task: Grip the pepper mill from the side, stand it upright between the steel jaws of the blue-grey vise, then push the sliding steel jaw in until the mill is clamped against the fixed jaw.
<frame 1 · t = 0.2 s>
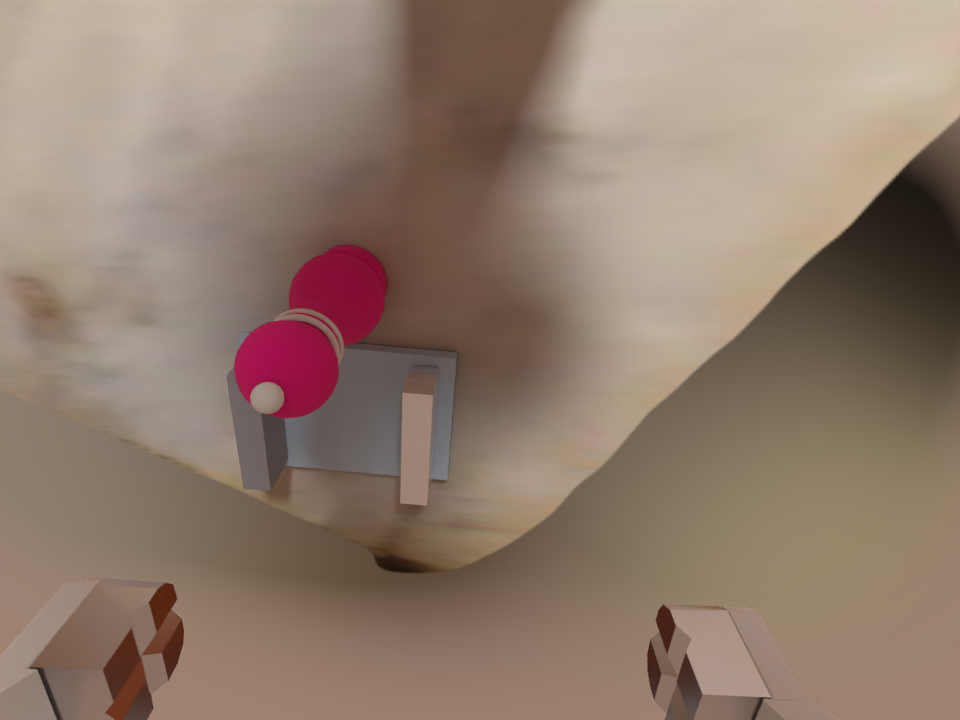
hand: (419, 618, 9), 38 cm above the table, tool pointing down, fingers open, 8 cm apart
pepper mill: (352, 279, 48), on the table
sliding jaw: (419, 436, 50), point 4 cm above the table, slide at 0.0 cm
vise: (334, 405, 53), on the table
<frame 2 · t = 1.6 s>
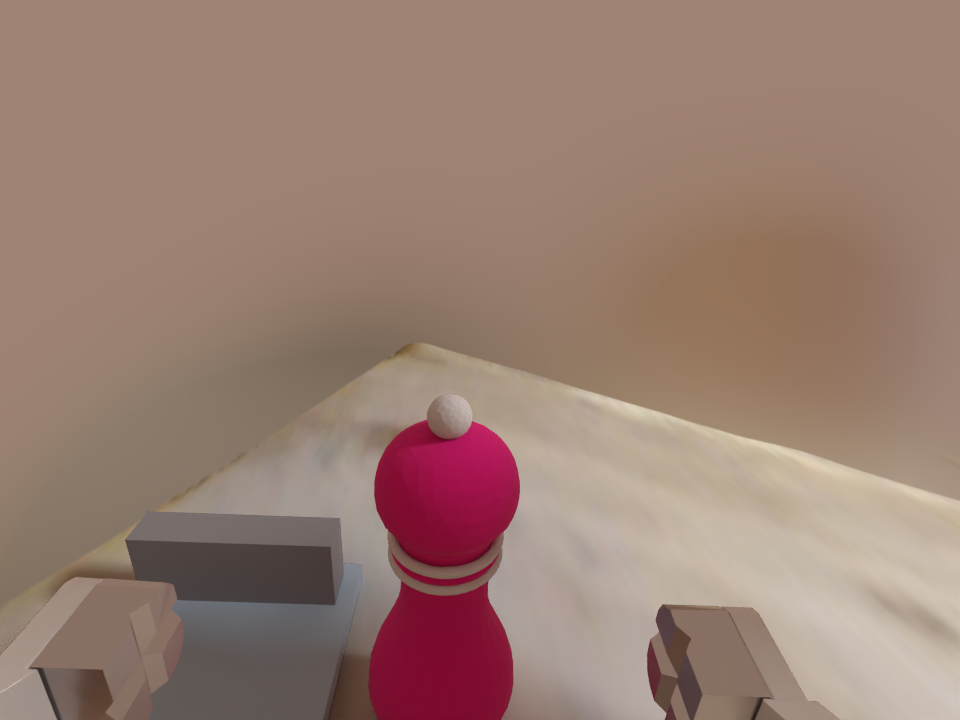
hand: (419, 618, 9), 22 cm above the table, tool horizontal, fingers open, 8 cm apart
vise: (210, 683, 31), on the table
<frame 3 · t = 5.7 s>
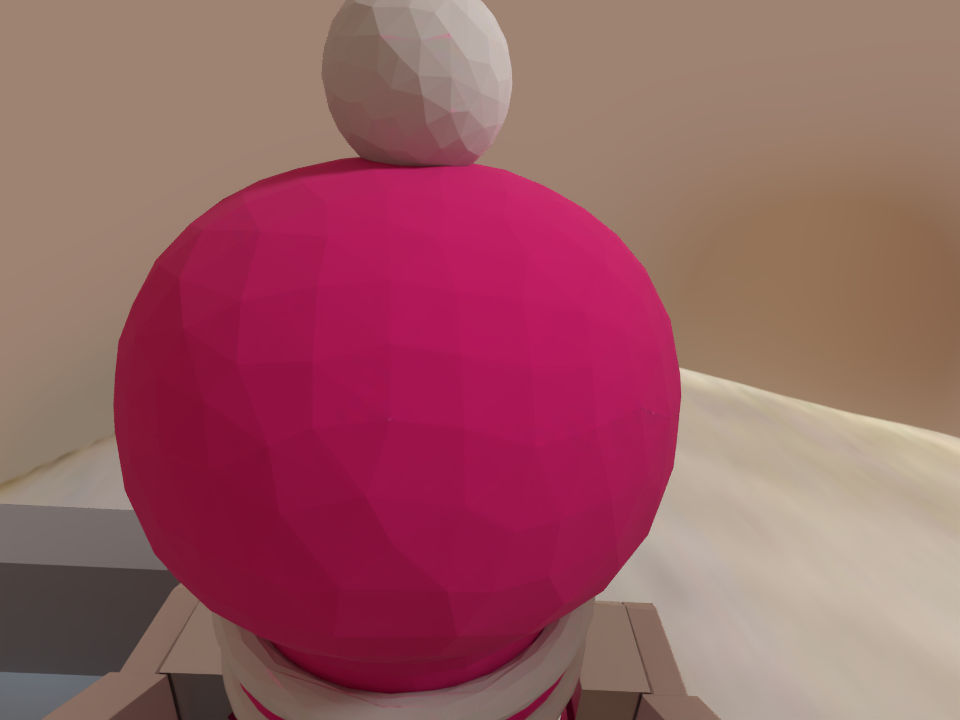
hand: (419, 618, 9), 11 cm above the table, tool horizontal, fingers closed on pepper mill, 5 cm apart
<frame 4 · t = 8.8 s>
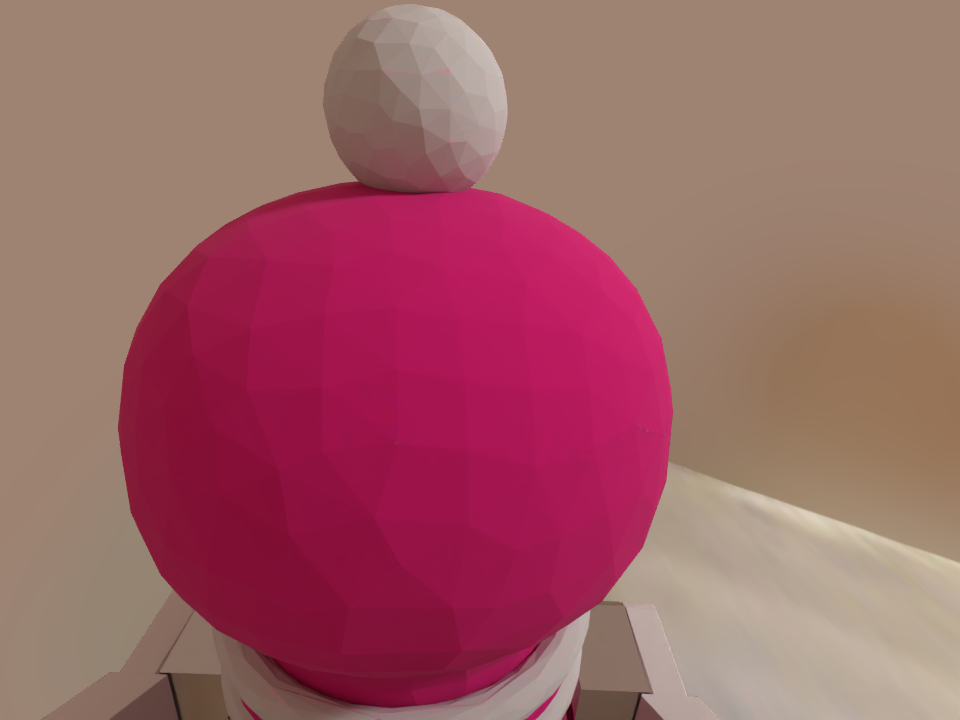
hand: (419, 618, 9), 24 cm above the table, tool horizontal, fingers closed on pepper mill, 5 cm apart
when the fingers open (13 cm above the table, at t = 11.7 s): pepper mill stays where it is, resting on vise.
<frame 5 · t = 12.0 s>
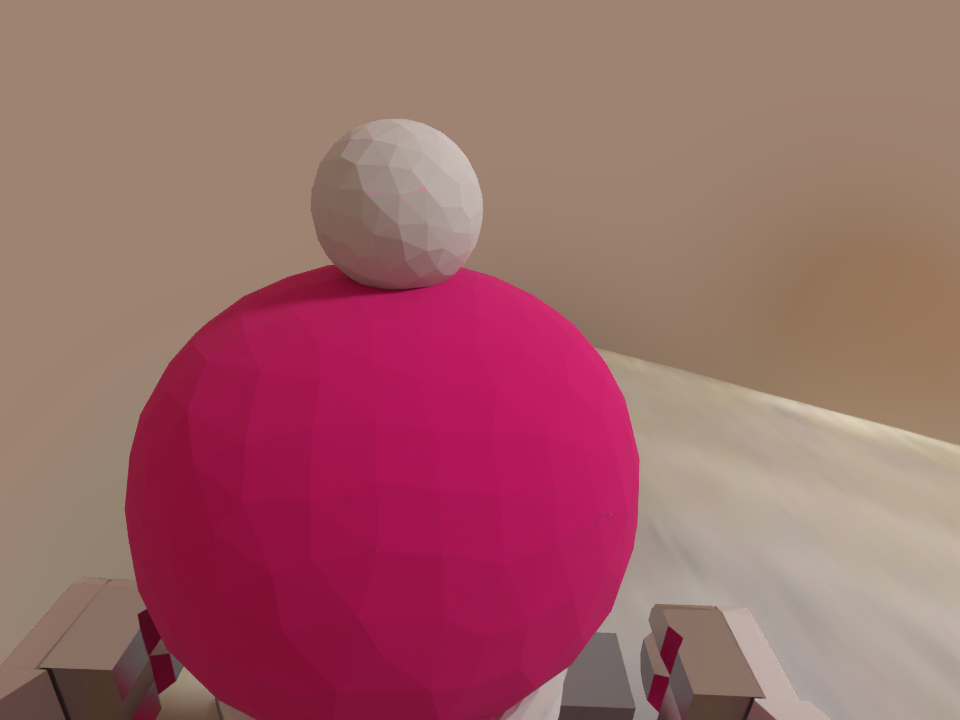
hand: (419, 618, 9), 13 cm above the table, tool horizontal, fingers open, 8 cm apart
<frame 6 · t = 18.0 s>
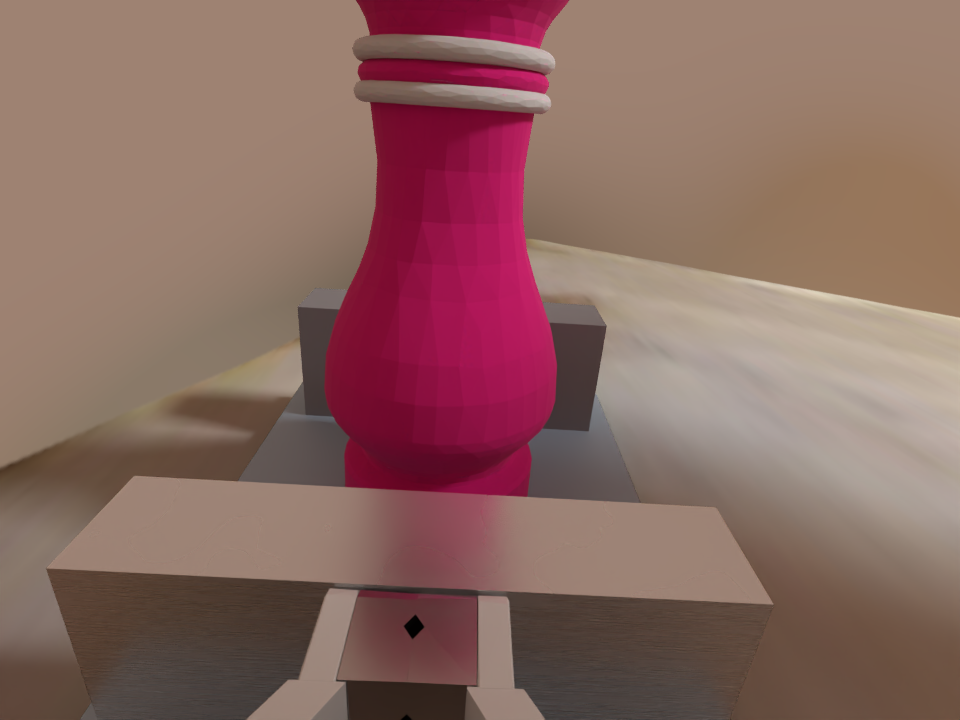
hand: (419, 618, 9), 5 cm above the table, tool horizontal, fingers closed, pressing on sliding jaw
pepper mill: (437, 493, 19), point 1 cm above the table, touching vise
sliding jaw: (420, 626, 11), point 4 cm above the table, slide at 1.0 cm, touching gripper
vise: (439, 516, 20), on the table
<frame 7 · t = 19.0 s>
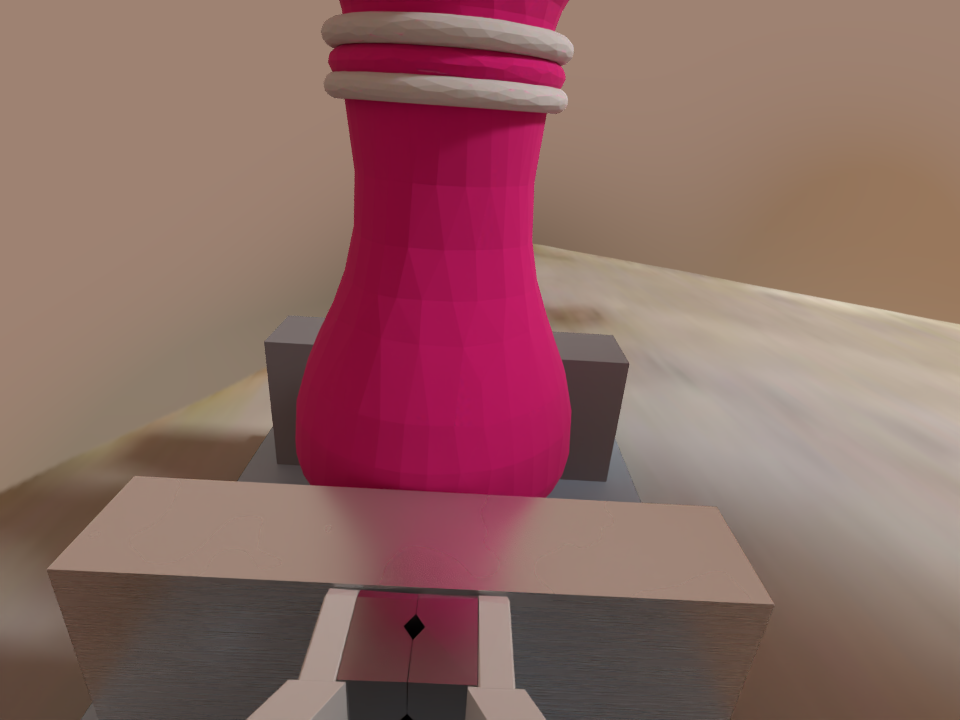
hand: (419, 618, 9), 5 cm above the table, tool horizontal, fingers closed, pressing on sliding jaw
pepper mill: (431, 552, 17), point 1 cm above the table, touching sliding jaw, vise
sliding jaw: (421, 625, 11), point 4 cm above the table, slide at 4.6 cm, touching gripper, pepper mill
vise: (432, 596, 17), on the table
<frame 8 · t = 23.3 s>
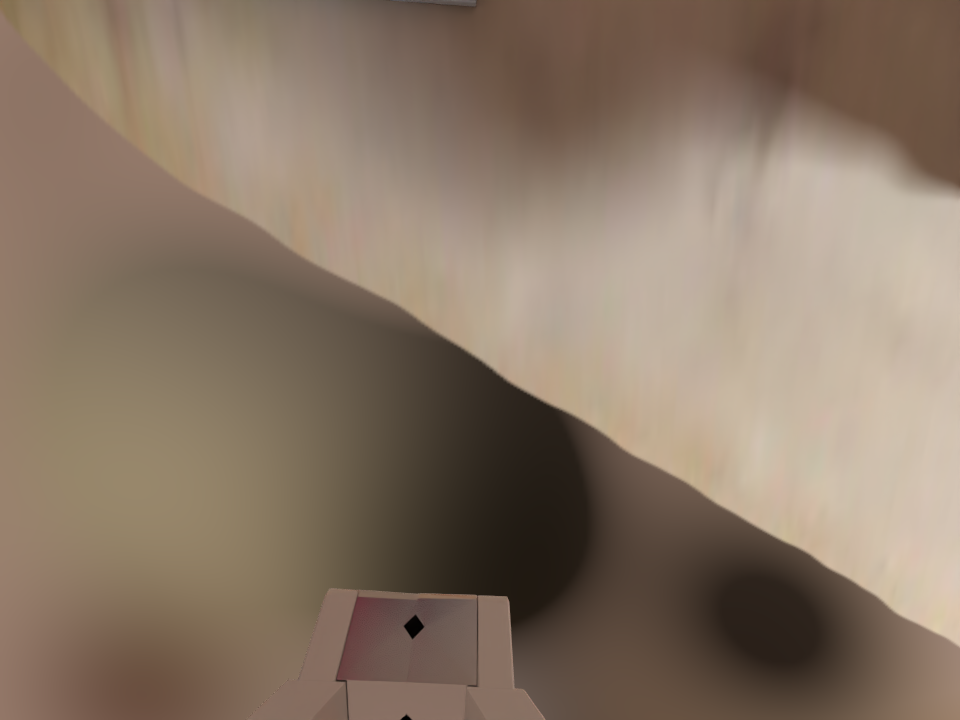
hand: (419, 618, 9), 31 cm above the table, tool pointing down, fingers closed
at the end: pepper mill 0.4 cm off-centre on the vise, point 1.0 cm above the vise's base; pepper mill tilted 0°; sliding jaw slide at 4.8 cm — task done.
